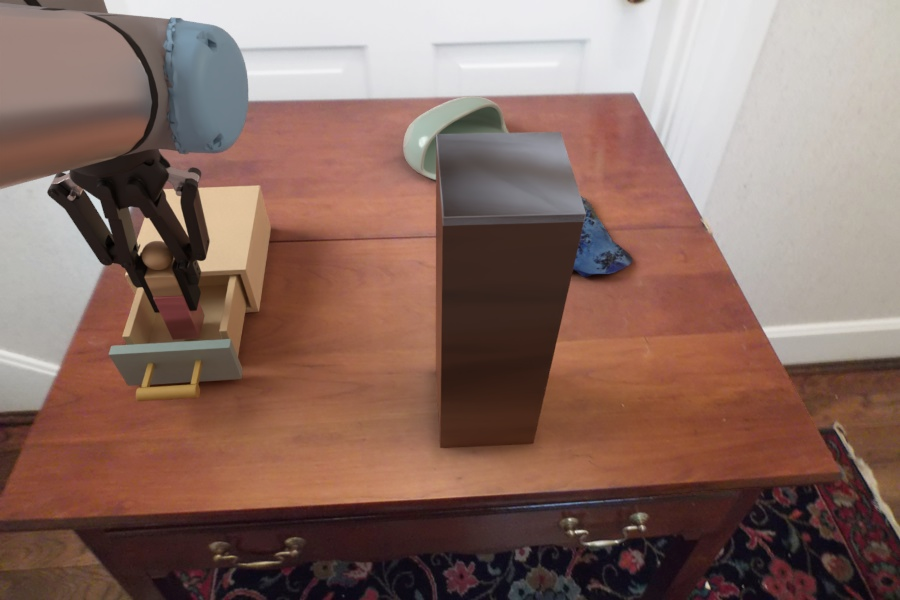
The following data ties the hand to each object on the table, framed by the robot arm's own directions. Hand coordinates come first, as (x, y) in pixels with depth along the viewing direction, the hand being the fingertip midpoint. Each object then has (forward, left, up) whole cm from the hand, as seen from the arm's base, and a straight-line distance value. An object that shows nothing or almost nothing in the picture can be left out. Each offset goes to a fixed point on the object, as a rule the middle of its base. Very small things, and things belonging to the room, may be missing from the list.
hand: (178, 302), depth 71 cm
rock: (+44, -25, -8) cm, 51 cm away
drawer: (-1, -1, -7) cm, 7 cm away
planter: (+51, 0, -8) cm, 51 cm away
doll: (0, 0, -4) cm, 4 cm away
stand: (+15, -32, -7) cm, 36 cm away
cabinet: (+9, +8, -7) cm, 14 cm away
